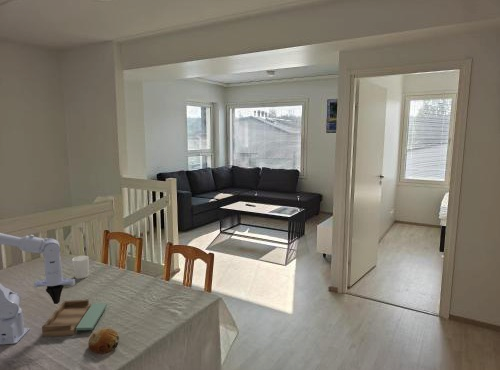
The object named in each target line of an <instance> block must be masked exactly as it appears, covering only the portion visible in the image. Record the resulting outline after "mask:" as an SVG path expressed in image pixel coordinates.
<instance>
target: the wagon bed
mask: <svg viewBox="0 0 500 370" xmlns="http://www.w3.org/2000/svg"><path fill="white" fill-rule="evenodd" d="M89 301H90V300H89V299H76V300H64V301H63V302H62V303H61V304H60V305H59V306H58V307H57V309H56V310H55V311H54V312H53V314H52V315H50V316H49V318H48V319H47V321H46V322H45V323H44V324H43V325H42V326H41V331H42V337H43V338H44V337H46V338H47V337H61V336H62V337H63V336H75V333H76V332H77V331H78V330H76V327H77V325H78V324H79V323H80V321H81V320H82V318H83V317H84V315H85V314H86V312H87V311H88V309H89V308H90V306H91V305H92V303H89Z"/></svg>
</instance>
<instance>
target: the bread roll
mask: <svg viewBox="0 0 500 370" xmlns="http://www.w3.org/2000/svg"><path fill="white" fill-rule="evenodd" d="M119 340H120V336H119V334H118V333H117V331H116V330H115V329H114V328H112V327H103V328H99V329H98V330H95V331H94V332H93V333H92V334H91V336H90V337H89V340H88V343H87V345H88V349H89V351H90V352H91V353H94V354H96V355H100V354H108V353H109V352H110V353H111V351H113V350H115V349H116V348H117V347H118V344H119Z"/></svg>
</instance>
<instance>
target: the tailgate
mask: <svg viewBox="0 0 500 370" xmlns="http://www.w3.org/2000/svg"><path fill="white" fill-rule="evenodd" d="M107 306H108V303H107V302H106V303H105V302H92V303H91V306H90V308H89V309H88V311H87V312H86V314H85V315H84V317H83V318H82V320H81V321H80V323H79V324H78V325H77V327H76V330H77V331H93V330H94V328H95V326H96V325H97V323H98V321H99V320H100V318H101V316H102V315H103V313H104V311H105V310H106V308H107Z"/></svg>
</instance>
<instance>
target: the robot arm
mask: <svg viewBox="0 0 500 370" xmlns="http://www.w3.org/2000/svg"><path fill="white" fill-rule="evenodd" d="M0 245H4V246H12V247H18V249H19V250H20V251H21V252H22V251H23V252H28V253H33V254H39V255H40V254H42V255H43V258H44V260H43V266H44V273H45V274H44V277H45V279H42V280H40V279H39V280H36V281H35V282H33V286H34V288H39V287H46V288H45V292H46V293H47V294H48V295H49V296H50V298H51V300H52V302H53V304H54V305H58V304H59V303H60V302H61V297H62V296H61V295H62V291H63V289H64V286H71V287H72V286H74V285H75V284H76V278H65V277H63V267H62V258H61V253H60V252H61V246H60V242H59V240H58V239H56V238H53V237H51V238H49V237H45V238H42V237H37V236H35V235H34V234H29V235H27V234H26V235H24V236H21V237H20V236H16V235H15V236H14V235H11V234H6V233H2V232H0ZM20 303H21V295H19V294H18V293H17V292H14V291H12V290H11V289H10V288H7V287H5V286H4V285H3V284H2V283H1V282H0V345H9V344H10V345H12V344H17V343H19V342H20V341H21V339H22V338H23V337H24V336H25V335H26V333H27V332H29V330H30V329H31V328H30V327H25V324H24V315H23V309H22V308H21V307H20Z"/></svg>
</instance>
